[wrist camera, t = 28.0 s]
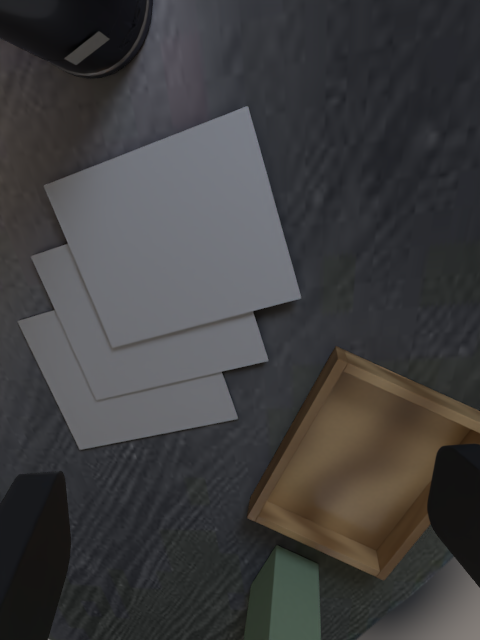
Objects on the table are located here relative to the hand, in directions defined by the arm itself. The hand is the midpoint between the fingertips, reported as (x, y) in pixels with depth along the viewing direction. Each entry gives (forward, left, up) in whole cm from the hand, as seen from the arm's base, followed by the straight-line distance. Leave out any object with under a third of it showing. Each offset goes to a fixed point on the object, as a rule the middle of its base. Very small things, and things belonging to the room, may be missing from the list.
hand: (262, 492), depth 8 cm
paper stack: (-9, -8, -24) cm, 27 cm away
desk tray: (+13, -13, -24) cm, 30 cm away
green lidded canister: (+13, -29, -24) cm, 40 cm away
